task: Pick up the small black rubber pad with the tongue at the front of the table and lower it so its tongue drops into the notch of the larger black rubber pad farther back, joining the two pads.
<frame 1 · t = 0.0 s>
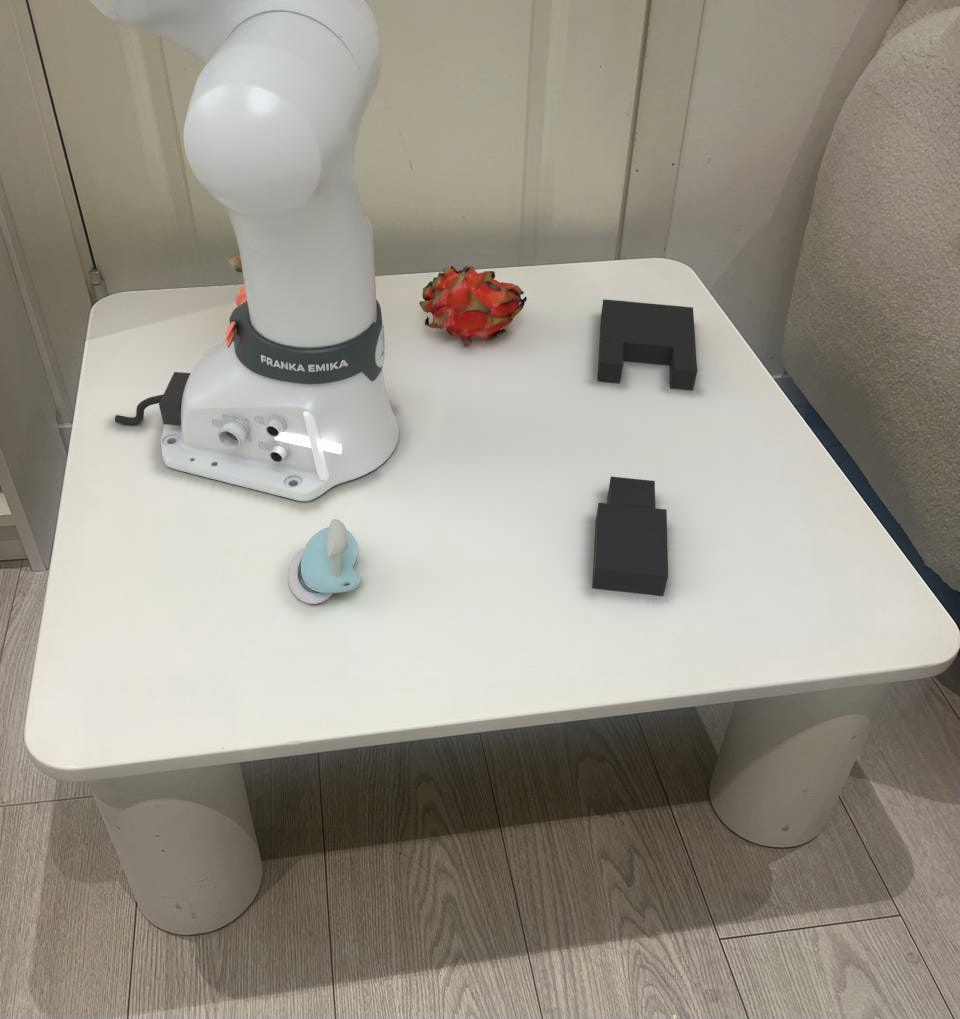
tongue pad: (628, 558, 88), on the table
dragon fruit: (472, 332, 112), on the table
pacifier: (324, 578, 85), on the table
notch pad: (644, 352, 110), on the table
lion figurine: (265, 339, 110), on the table
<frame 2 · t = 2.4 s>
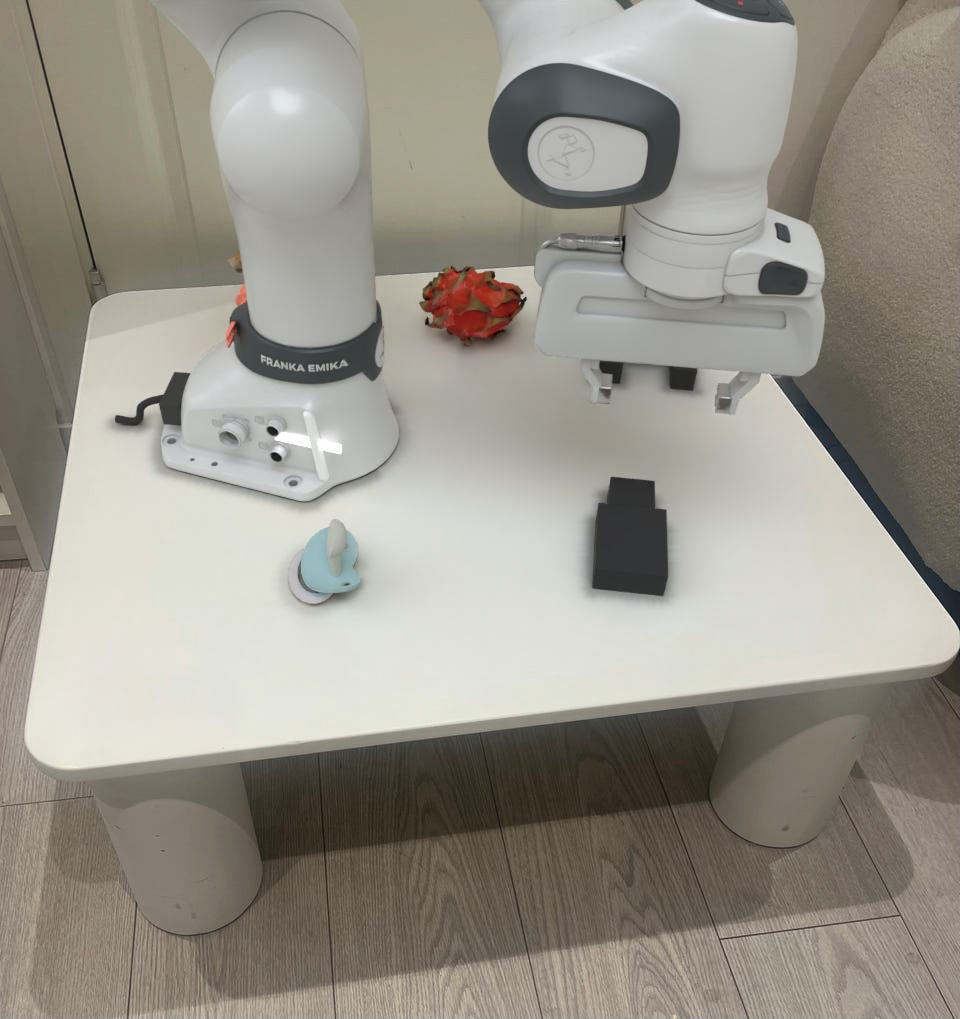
hand: (662, 404, 78), 16 cm above the table, tool pointing down, fingers open, 8 cm apart
nothing on the table moved.
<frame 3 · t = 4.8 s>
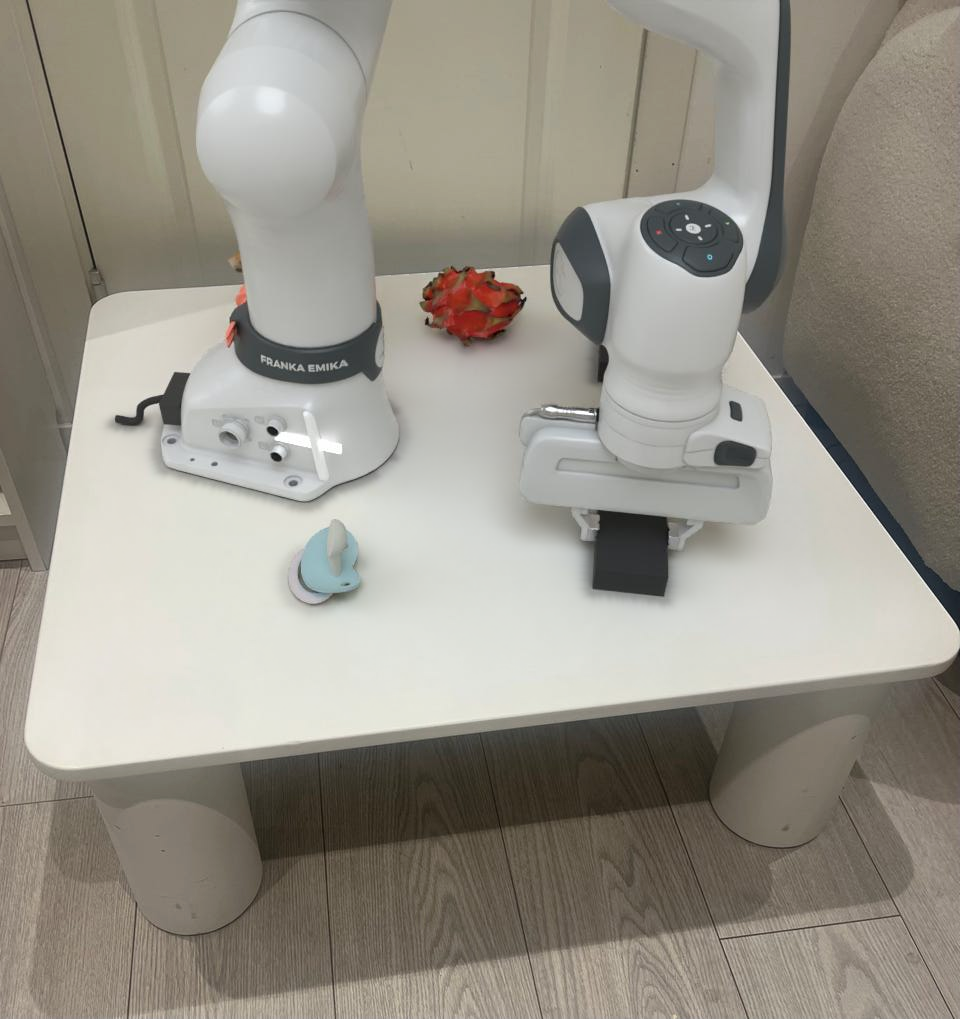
hand: (631, 540, 87), 2 cm above the table, tool pointing down, fingers closed on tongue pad, 6 cm apart
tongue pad: (628, 558, 88), on the table, touching gripper
everything else where it was.
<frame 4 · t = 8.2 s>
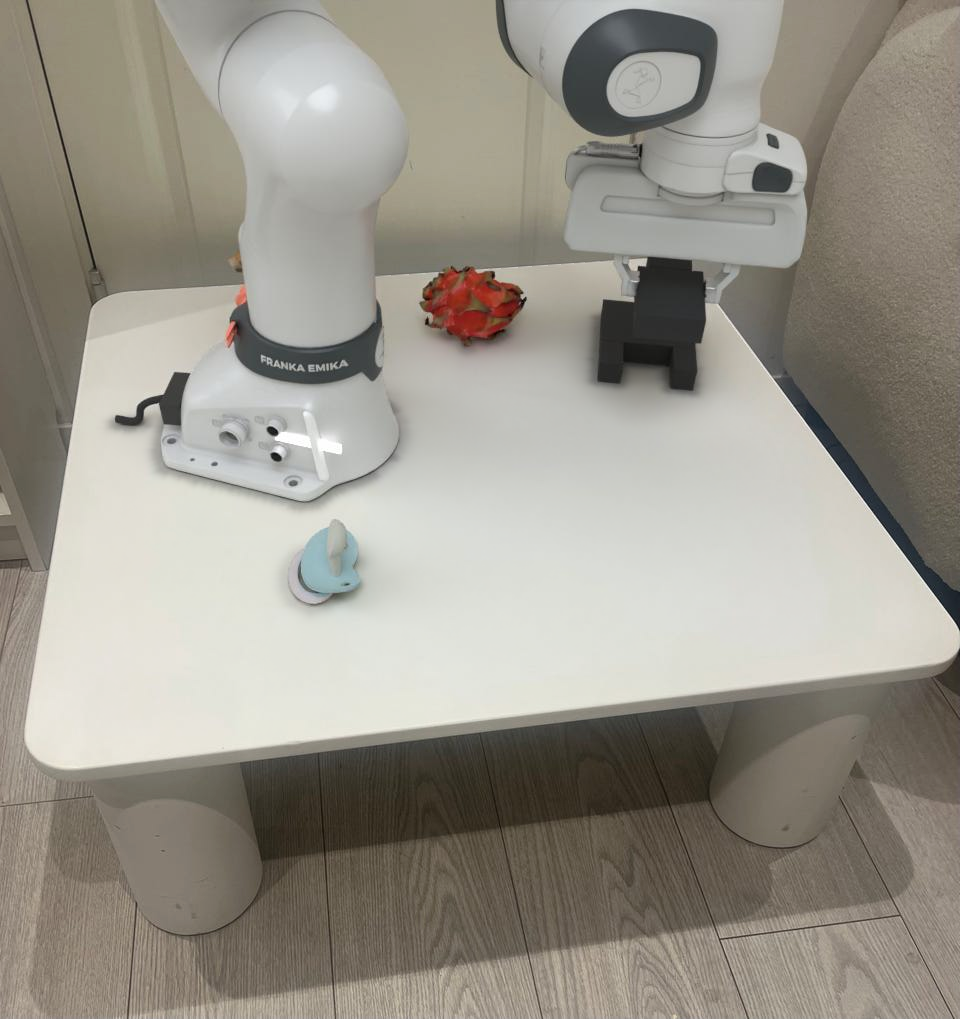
hand: (669, 296, 91), 15 cm above the table, tool pointing down, fingers closed on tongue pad, 6 cm apart
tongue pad: (666, 315, 92), point 13 cm above the table, touching gripper
everything else where it was.
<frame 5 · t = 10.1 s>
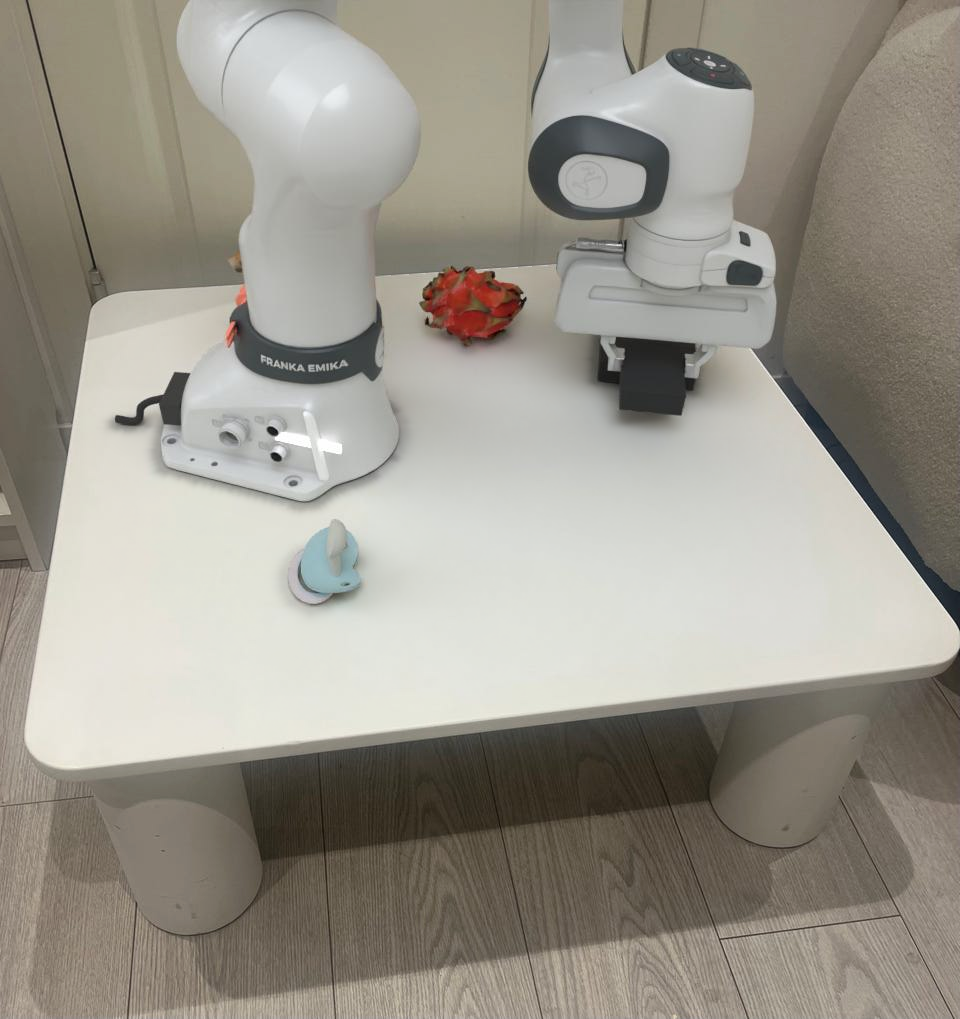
hand: (652, 371, 100), 5 cm above the table, tool pointing down, fingers closed on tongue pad, 6 cm apart
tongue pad: (649, 387, 100), point 3 cm above the table, touching gripper
everything else where it was.
when the fingers open (1 cm above the table, at t = 11.7 s): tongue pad stays where it is, on the table.
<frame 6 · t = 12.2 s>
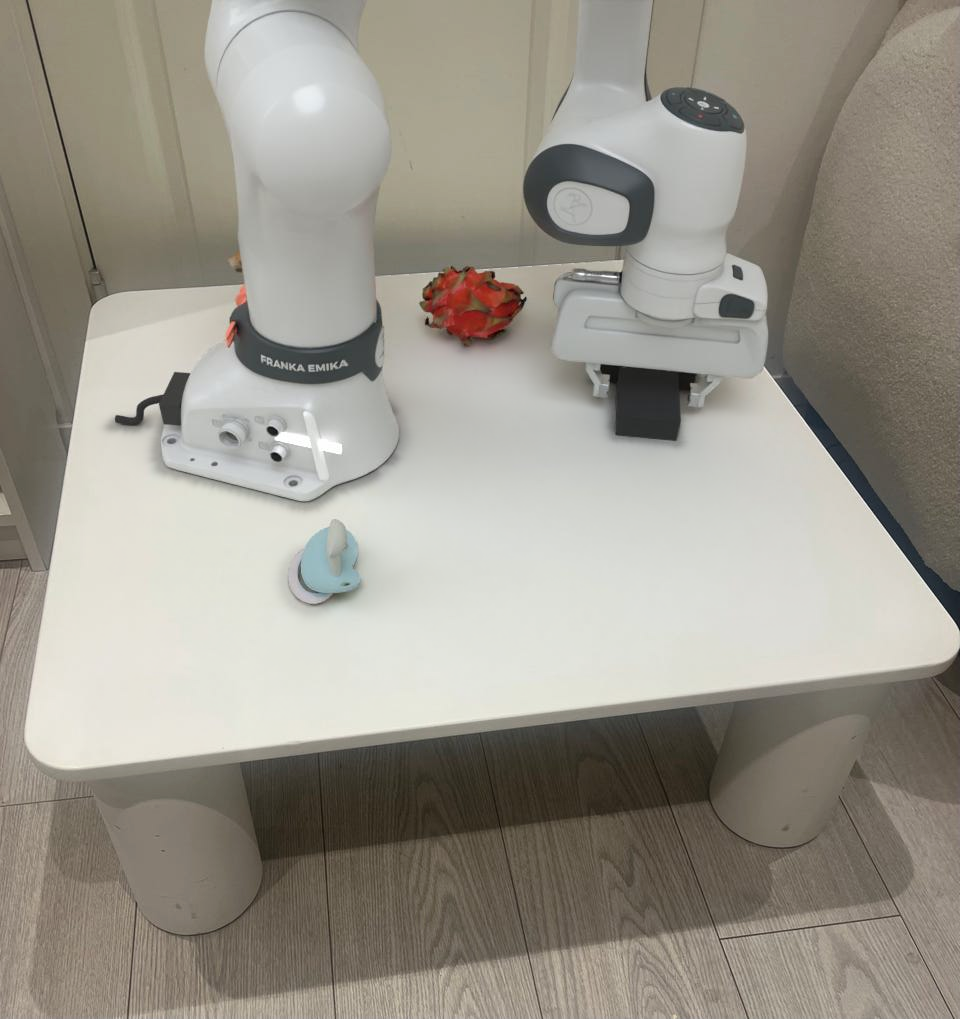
hand: (647, 398, 101), 2 cm above the table, tool pointing down, fingers open, 8 cm apart
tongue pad: (645, 412, 103), on the table
everything else where it was.
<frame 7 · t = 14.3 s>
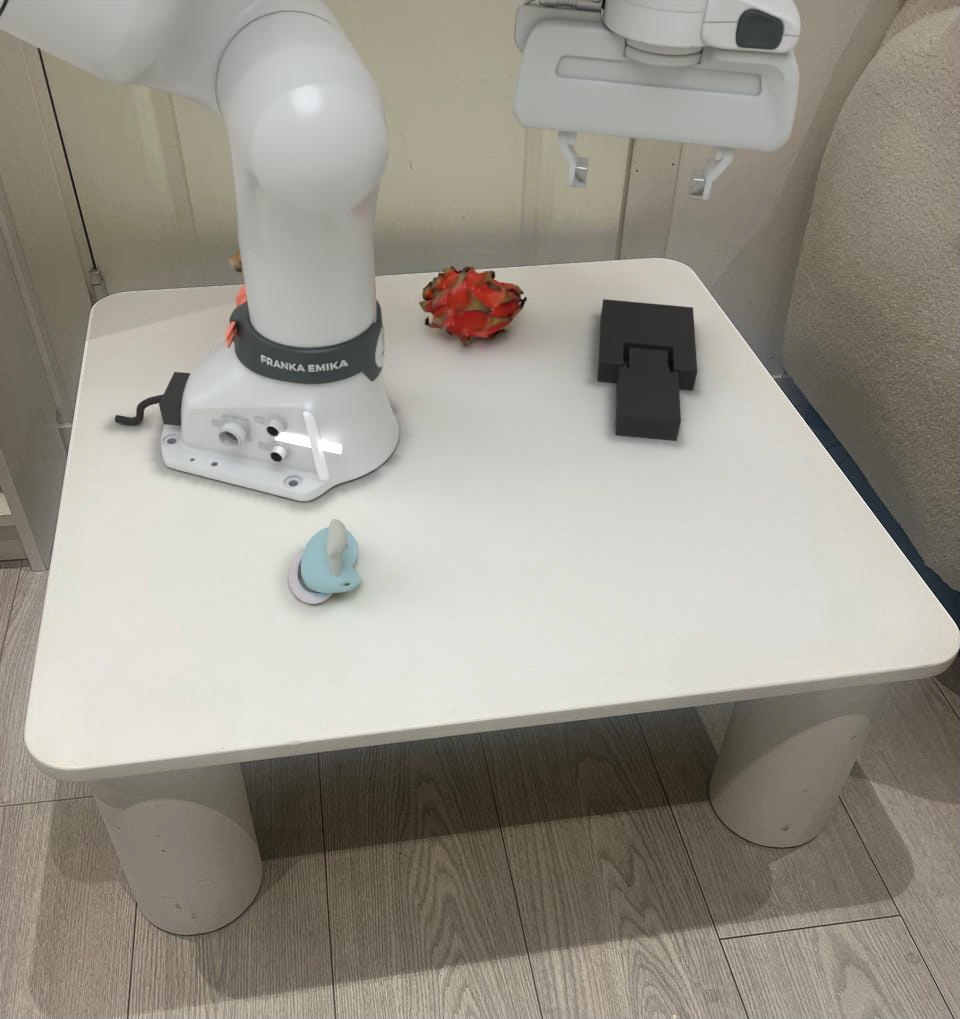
hand: (636, 190, 78), 27 cm above the table, tool pointing down, fingers open, 8 cm apart
nothing on the table moved.
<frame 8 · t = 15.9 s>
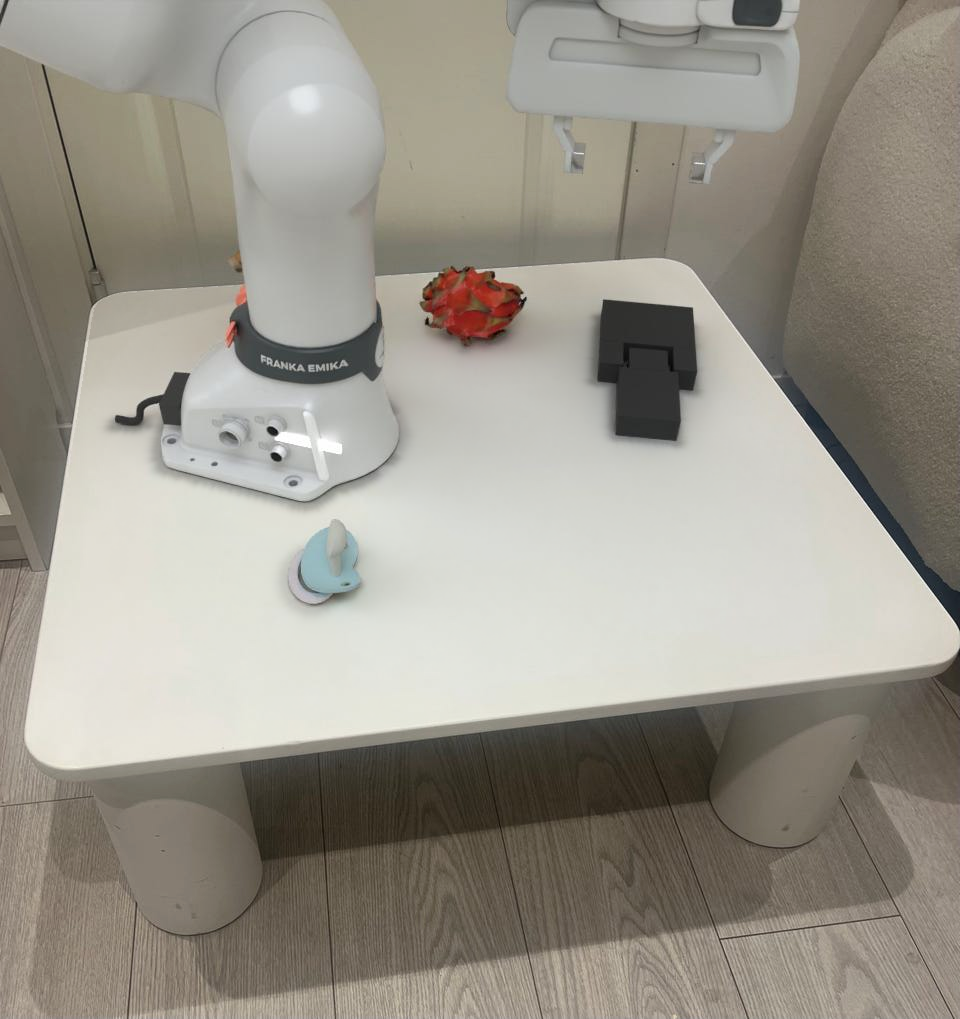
hand: (635, 175, 77), 29 cm above the table, tool pointing down, fingers open, 8 cm apart
nothing on the table moved.
at the end: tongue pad 0.6 cm from the target spot on the table beside the notch pad, on the table; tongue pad tilted 0°; the gripper is holding nothing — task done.
